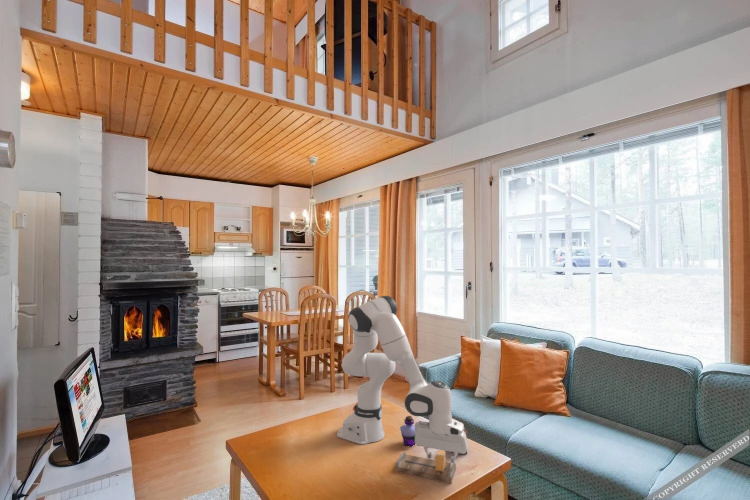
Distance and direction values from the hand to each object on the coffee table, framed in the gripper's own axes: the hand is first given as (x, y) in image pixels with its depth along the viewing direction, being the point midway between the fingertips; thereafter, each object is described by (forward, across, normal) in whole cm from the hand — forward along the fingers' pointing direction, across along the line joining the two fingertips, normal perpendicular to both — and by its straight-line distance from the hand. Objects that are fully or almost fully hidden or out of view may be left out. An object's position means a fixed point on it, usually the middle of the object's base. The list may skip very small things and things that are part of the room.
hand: (441, 459), depth 145 cm
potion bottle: (+5, -18, +18) cm, 26 cm away
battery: (+5, +4, +18) cm, 20 cm away
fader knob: (+3, 0, -1) cm, 3 cm away
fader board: (+5, -6, 0) cm, 8 cm away
